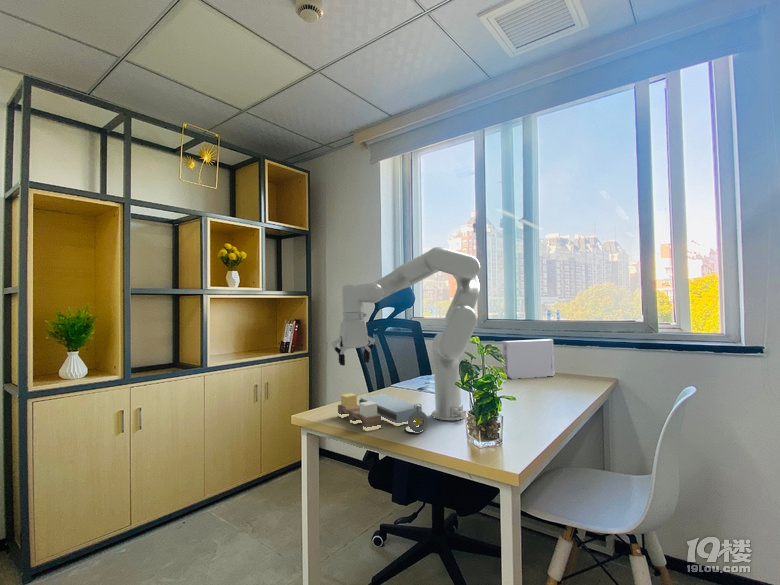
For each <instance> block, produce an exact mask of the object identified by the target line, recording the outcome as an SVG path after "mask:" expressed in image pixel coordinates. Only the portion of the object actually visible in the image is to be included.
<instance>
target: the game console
mask: <svg viewBox="0 0 780 585" xmlns="http://www.w3.org/2000/svg"><path fill="white" fill-rule="evenodd" d="M554 350H555V349H554V339H552V338H547V339H546V338H544V339H543V338H542V339H525V340H524V339H523V340H502V358H503V357H504V359H505V362H506V366H504V365H503V364H502V365H503V373H504V372H505V373H506V375H507V376H506V375H505V376H506V377H507V378H509V379H511V380H518V378H521V379H533V378H534V379H536V378H535V377H537V378H548V377H547V376H553V377H555V376H554V375H555V353H554Z"/></svg>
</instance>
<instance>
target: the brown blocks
mask: <svg viewBox="0 0 780 585" xmlns="http://www.w3.org/2000/svg"><path fill="white" fill-rule="evenodd" d="M338 413H339V414H341V415H342V414H349V417H348V418H349V419H350V420H352V421H356V420H361V421H362V423H361V427H362V426H364V427H366V428H367V427H372V426H377V425H381V424H382V420H381V415H379V414H377V415H375V416H371V417H364V416H362V415H360V404H357V406H353V407H348V408H346V407H343V406H341V404H338V405H337V414H338ZM349 419H348V420H349Z"/></svg>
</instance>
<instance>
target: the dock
mask: <svg viewBox="0 0 780 585" xmlns="http://www.w3.org/2000/svg"><path fill="white" fill-rule="evenodd" d="M367 401H372V402H375V403H377V414H379V415H381V416H382V417H384V418H386V419H388V420H390V421H392V422H395V423H402V422H407V421H408V419H409V417H410V415H411V414H412V413H413V412H415V411H417V409H416V407H417V406H418V407H420V406H421V405H419V404H418V405H416V403H412V402H408V401H405V400H403V399H400V398H397V397H394V396H393V395H392V396H391V395H389V394H385V393H380V394H373V395H370V396H369V395H368V396H363V397H360V399H359V400H358V403H359V404H358V405H360V403H362V402H367ZM414 405H415V408H414ZM422 409H423V408H422V406H421V407H420V408H419V409H418V411H422V412H423V410H422ZM414 420H415V419H414Z"/></svg>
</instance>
